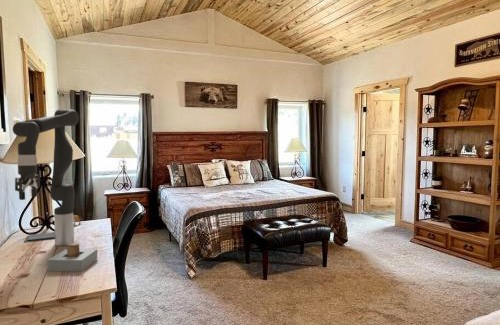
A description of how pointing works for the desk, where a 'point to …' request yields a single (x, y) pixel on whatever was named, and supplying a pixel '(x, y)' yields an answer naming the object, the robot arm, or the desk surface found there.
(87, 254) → the socket block
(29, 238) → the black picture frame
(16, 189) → the robot arm
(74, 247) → the peg
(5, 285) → the desk surface
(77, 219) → the lion figurine
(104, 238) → the desk surface
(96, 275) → the desk surface
